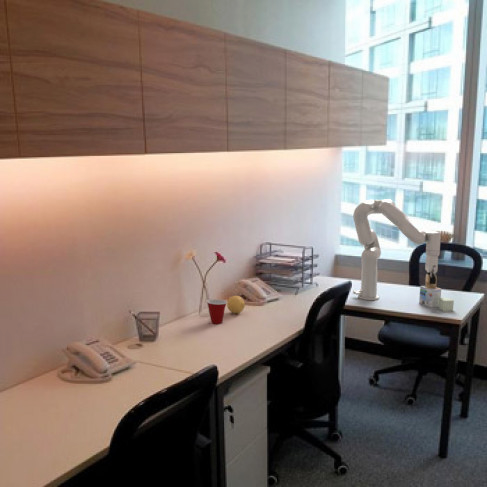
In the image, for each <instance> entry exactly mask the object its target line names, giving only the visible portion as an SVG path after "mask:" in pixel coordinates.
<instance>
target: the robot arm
mask: <svg viewBox="0 0 487 487" xmlns="http://www.w3.org/2000/svg"><path fill="white" fill-rule="evenodd" d="M372 214H373V215H374V214H375V215H376V214H378V215H379V214H381V215H383V217H385V218H386V219H387V220H388V221H389V222H390V223H392V224H393V225H394V226H395V227H397V229H398V230H399V231H400V232H401V233H402V234H403V235H404V237H406V238H407V239H408V240H409V241H411V242H412V244H415V245H417V246H418V245H423V244H424V243H426V245H425V255H426V257H425V265H424V267H425V268H424V269H425V271H426V275H431V277H430V284H436V285H437V280H436V277H437V273H438V269H439V268H438V265H439V256H440V253H441V237H442V236H441V235H442V234H441V232H440V231H433V230H431V231H430V230H429V231H428V230H424V229H418V228H417V227H415V226H414V225H413V224H412V223H411V221H410V220H409V218H408V216H407V215H406V213H404V212H403V211H402V210H400V209H399V208H398V207H397V206H396V204H395V201H393V200H392V199H369V200H365V201H362V202H361V203H359V204H358V205H357V206H356V207H355V209H354V211H353V216H352V217H353V222H354V226H355V231H356V234H357V239H358V242H359V244H360V245H361V246H363V251H362V253H361V258H360V259H361V260H360V261H361V262H360V263H361V276H360V277H361V278H360V279H361V282H360V284H361V286H360V289H359V290H353V291H352V294H354V295H357V297H358V299H360V300H364V301H376V300H379V299H380V296H379V295H378V294H377V292H378V290H377V289H378V259H380V257H381V254H382V252H381V246H380V243H379V239H378V235H377V233H376V231H375V230H373V229H372V228H371V225H370V222H369V219H368V216H370V215H372Z"/></svg>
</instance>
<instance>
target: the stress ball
mask: <svg viewBox="0 0 487 487" xmlns="http://www.w3.org/2000/svg"><path fill="white" fill-rule="evenodd" d="M245 306H246V305H245V300H244V298H243V297H242V296H239V295H233V296H231V297H229V298H228V300H227V303H226V307H227V309H228V310H229V312H230V313H232V314H234V315H238V314H239V313H241V312H243V310H244V309H245Z"/></svg>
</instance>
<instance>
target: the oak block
mask: <svg viewBox="0 0 487 487" xmlns="http://www.w3.org/2000/svg"><path fill="white" fill-rule="evenodd" d="M430 277H431V275H427V274H425V281H424V282H425V283H424V284H425V285H424V286H426V288H436V287H437V283H436V284H430ZM437 278H438V277H437V276H436V281H438V280H437Z"/></svg>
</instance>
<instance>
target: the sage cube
mask: <svg viewBox="0 0 487 487" xmlns="http://www.w3.org/2000/svg"><path fill="white" fill-rule="evenodd" d="M454 303H455V300H454V299H452V298H450V297H441V298H439V304H438V307H437V308H438V309H440V310H441V311H442V310H443V312H445V311H448V310H449V311H450V310H453V311H454ZM449 311H448V312H449Z"/></svg>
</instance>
